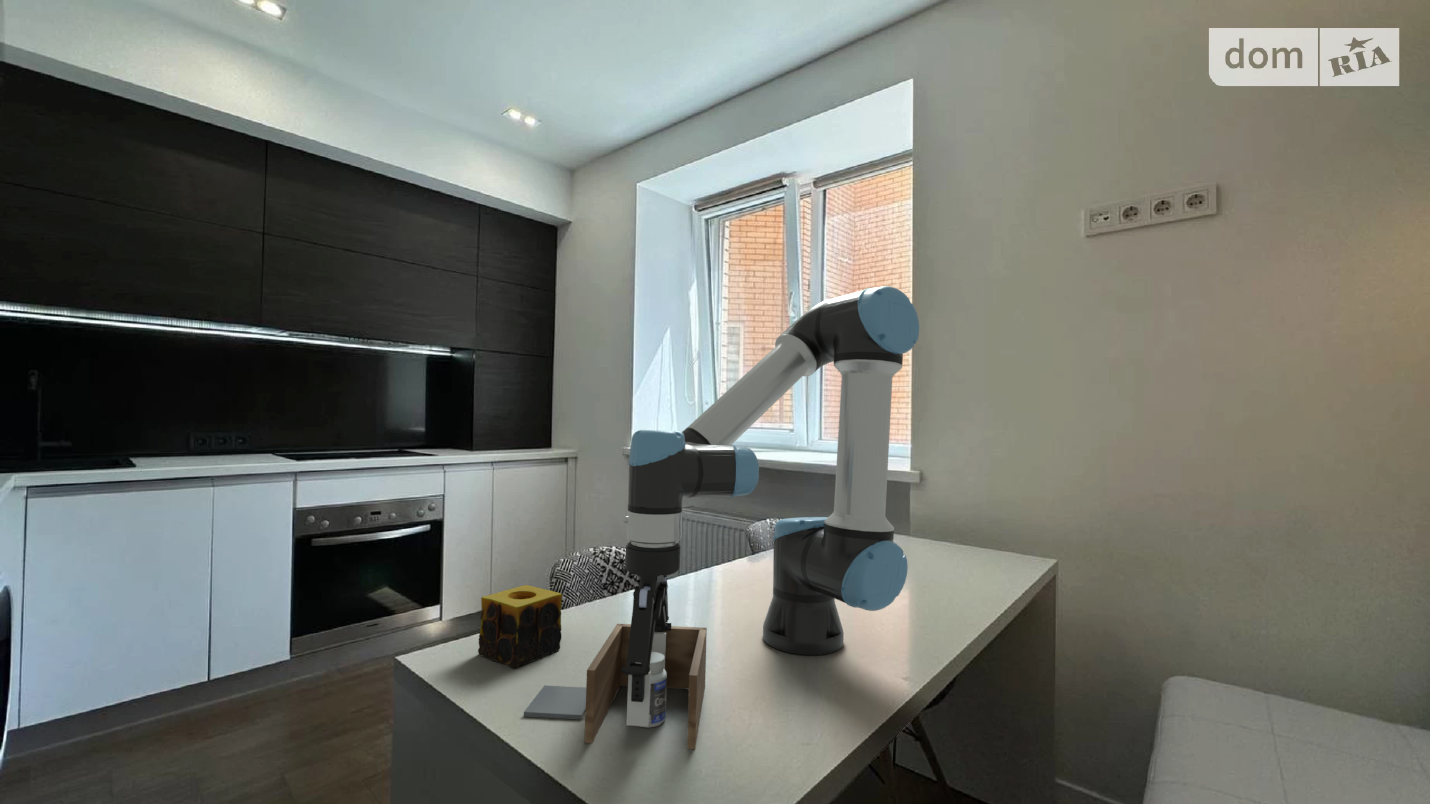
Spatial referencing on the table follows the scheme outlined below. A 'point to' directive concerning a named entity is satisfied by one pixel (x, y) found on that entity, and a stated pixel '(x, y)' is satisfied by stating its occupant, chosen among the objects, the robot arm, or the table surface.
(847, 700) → the table surface
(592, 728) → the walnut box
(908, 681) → the table surface
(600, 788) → the table surface
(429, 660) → the table surface
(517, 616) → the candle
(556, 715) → the slate coaster
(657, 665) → the pill bottle
